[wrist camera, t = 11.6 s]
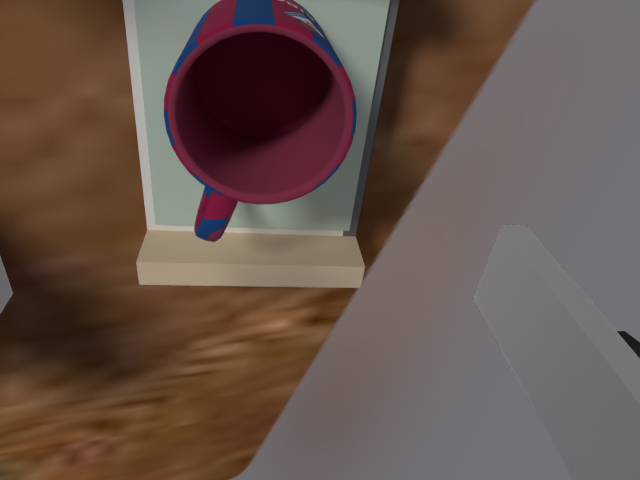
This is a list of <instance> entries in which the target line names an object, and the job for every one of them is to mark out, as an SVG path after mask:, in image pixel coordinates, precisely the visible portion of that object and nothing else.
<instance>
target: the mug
mask: <svg viewBox="0 0 640 480" xmlns="http://www.w3.org/2000/svg"><path fill="white" fill-rule="evenodd" d="M356 117H357V111H356V100H355V95H354V91H353V88H352V84H351V81H350V79H349V77H348V75H347V73H346V71H345V69H344V67H343V65H342V63H341V61H340V60H339V58H338V56H337V54H336V53H335V51H334V49H333V47H332V46H331V44H330V42H329V40H328V39H327V37H326V35H325V33H324V32H323V30H322V28H321V27H320V25H319V24H318V23H317V21H316V20H315V18H314V17H313V16H312V15H311V14H310V13H309V12H308V11H307V10H306V9H305V8H304V7H303V6H301V5H300V4H298V3H297V2H295V1H294V0H221V1H219V2H217V3H216V4H214V5H213V6H212V7H211V8H210V9H209V10H208V11H207V12H206V13H205V14H204V15H203V16H202V18H201V19H200V21H199V22H198V24H197V25H196V27H195V29H194V30H193V32H192V34H191V36H190V38H189V40H188V42H187V43H186V45H185V47H184V49H183V51H182V53H181V55H180V56H179V58H178V60H177V62H176V64H175V66H174V68H173V70H172V73H171V75H170V77H169V79H168V83H167V87H166V92H165V96H164V120H165V126H166V132H167V135H168V137H169V140H170V143H171V146H172V148H173V150H174V152H175V153H176V155H177V157H178V159H179V160H180V162H181V163H182V164H183V166H184V167H185V168H186V169H187V171H188V172H189V173H190V174H191V175H192V176H193V177H194V178H196V179H197V180H198V181H199V182H200V183H201V184H203V185H204V186H205V188H204V191H203V195H202V198H201V201H200V205H199V208H198V212H197V216H196V220H195V226H194V231H195V235H196V236H197V237H199V238H201V239H203V240H205V241H210V242H216V241H217V240H218V239H220V238H221V237H222V235H223V233H224V232H225V230H226V228H227V226H228V223H229V221H230V219H231V217H232V215H233V212H234V210H235V208H236V205H237V203H238V201H239V202H242V203H250V204H258V205H259V204H277V203H282V202H288V201H291V200H294V199H297V198H300V197H302V196H304V195H306V194H308V193H310V192H312V191H314V190H315V189H317V188H318V187H319V186H321V185H322V184H323V183H325V182H326V181H327V180H328V179H329V178H330V177H331V176H332V175H333V174H334V173H335V172H336V171H337V169H338V168H339V166H340V165H341V163H342V162H343V161H344V159H345V157H346V155H347V153H348V151H349V149H350V147H351V144H352V141H353V137H354V133H355V129H356Z"/></svg>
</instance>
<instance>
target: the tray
mask: <svg viewBox="0 0 640 480" xmlns="http://www.w3.org/2000/svg"><path fill="white" fill-rule="evenodd" d="M219 1H221V0H123V9H124V18H125V27H126V36H127V45H128V55H129V64H130V73H131V82H132V92H133V101H134V110H135V119H136V129H137V138H138V147H139V156H140V165H141V175H142V184H143V193H144V202H145V212H146V221H147V232H146V235H145V238H144V241H143V244H142V247H141V250H140V253H139V256H138V259H137V262H136V263H137V271H138V278H139V285H201V286H266V287H331V288H361V284H362V279H363V275H364V270H365V265H364V262H363V259H362V255H361V252H360V249H359V246H358V242H357V239H356V232H357V227H358V221H359V216H360V211H361V205H362V200H363V195H364V189H365V184H366V178H367V173H368V168H369V162H370V157H371V152H372V146H373V141H374V135H375V130H376V125H377V119H378V114H379V109H380V103H381V98H382V92H383V87H384V82H385V76H386V71H387V66H388V60H389V55H390V49H391V44H392V39H393V33H394V28H395V23H396V17H397V12H398V6H399V1H400V0H294V1H295V2H297V3H298V4H300V5H301V6H303V7H304V8H305V9H306V10H307V11H308V12H309V13H310V14H311V15H312V16H313V17H314V18H315V20H316V21H317V23H318V24H319V25H320V27H321V28H322V30H323V32H324V33H325V35H326V37H327V39H328V40H329V42H330V44H331V46H332V47H333V49H334V51H335V53H336V54H337V56H338V58H339V60H340V61H341V63H342V65H343V67H344V69H345V71H346V73H347V75H348V77H349V79H350V81H351V84H352V88H353V91H354V95H355V100H356V111H357V117H356V129H355V133H354V137H353V141H352V144H351V147H350V149H349V151H348V153H347V155H346V157H345V159H344V161H343V162H342V163H341V165H340V166H339V168H338V169H337V171H336V172H335V173H334V174H333V175H332V176H331V177H330V178H329V179H328V180H327V181H326V182H325V183H323V184H322V185H321V186H319V187H318V188H317V189H315V190H314V191H312V192H310V193H308V194H306V195H304V196H302V197H300V198H297V199H294V200H291V201H288V202H282V203H277V204H259V205H258V204H250V203H242V202H239V201H238V203H237V205H236V208H235V210H234V212H233V215H232V217H231V219H230V221H229V223H228V226H227V228H226V230H225V232H224V233H223V235H222V237H221V238H220V239H218V240H217V241H216V242H210V241H205V240H203V239H201V238H199V237H197V236H196V235H195V231H194V226H195V220H196V216H197V212H198V208H199V205H200V201H201V198H202V195H203V191H204V188H205V186H204V185H203V184H201V183H200V182H199V181H198V180H197V179H196V178H194V177H193V176H192V175H191V174H190V173H189V172H188V171H187V169H186V168H185V167H184V166H183V164H182V163H181V162H180V160H179V159H178V157H177V155H176V153H175V152H174V150H173V148H172V146H171V143H170V140H169V137H168V135H167V132H166V126H165V120H164V96H165V92H166V87H167V83H168V79H169V77H170V75H171V73H172V70H173V68H174V66H175V64H176V62H177V60H178V58H179V56H180V55H181V53H182V51H183V49H184V47H185V45H186V43H187V42H188V40H189V38H190V36H191V34H192V32H193V30H194V29H195V27H196V25H197V24H198V22H199V21H200V19H201V18H202V16H203V15H204V14H205V13H206V12H207V11H208V10H209V9H210V8H211V7H212V6H213V5H214V4H216V3H217V2H219Z"/></svg>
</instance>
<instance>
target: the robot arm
mask: <svg viewBox="0 0 640 480" xmlns="http://www.w3.org/2000/svg"><path fill="white" fill-rule="evenodd" d="M12 294H13V292H12V289H11V286H10V283H9V280H8V277H7V274H6V271H5V268H4V265H3V262H2V259H1V256H0V314H1V312H2V311H3V309H4V307H5V306H6V304H7V302H8V301H9V299H10V298H11V296H12ZM473 300H474V302H475V304H476V305H477V307H478V309H479V311H480V313H481V314H482V316H483V318H484V320H485V322H486V324H487V325H488V327H489V329H490V331H491V333H492V334H493V336H494V338H495V340H496V342H497V344H498V346H499V347H500V349H501V351H502V353H503V355H504V356H505V358H506V360H507V362H508V364H509V366H510V367H511V369H512V371H513V373H514V375H515V376H516V378H517V380H518V382H519V384H520V386H521V387H522V389H523V391H524V393H525V395H526V396H527V398H528V400H529V402H530V404H531V406H532V407H533V409H534V411H535V413H536V415H537V416H538V418H539V420H540V422H541V424H542V425H543V427H544V429H545V431H546V432H547V435H548V436H549V438H550V440H551V442H552V444H553V446H554V447H555V449H556V451H557V453H558V455H559V456H560V458H561V460H562V462H563V464H564V466H565V467H566V469H567V471H568V473H569V475H570V477H571V478H572V480H640V342H638V341H637V340H635V339H634V338H633V337H632V336H630V335H629V334H628V333H626V332H625V331H616V330H615V329H614V327H613V326H612V325H611V324H610V323H609V321H608V320H607V319H606V318H605V317H604V316H603V315H602V313H601V312H600V311H599V310H598V308H597V307H596V306H595V305H594V304H593V303H592V301H591V300H590V299H589V298H588V297H587V296H586V294H585V293H584V292H583V291H582V289H581V288H580V287H579V286H578V285H577V284H576V282H575V281H574V280H573V279H572V278H571V277H570V275H569V274H568V273H567V272H566V271H565V269H564V268H563V267H562V266H561V265H560V263H559V262H558V261H557V260H556V259H555V258H554V256H553V255H552V254H551V253H550V252H549V250H548V249H547V248H546V247H545V246H544V244H543V243H542V242H541V241H540V240H539V239H538V238H537V236H536V235H535V234H534V233H533V231H532V230H531V229H530V228H529V227H528V226H527V225H510V224H502V225H501V228H500V230H499V233H498V235H497V238H496V240H495V243H494V245H493V248H492V250H491V253H490V255H489V258H488V260H487V263H486V265H485V268H484V271H483V273H482V276H481V278H480V281H479V283H478V286H477V288H476V291H475V293H474V296H473Z"/></svg>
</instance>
